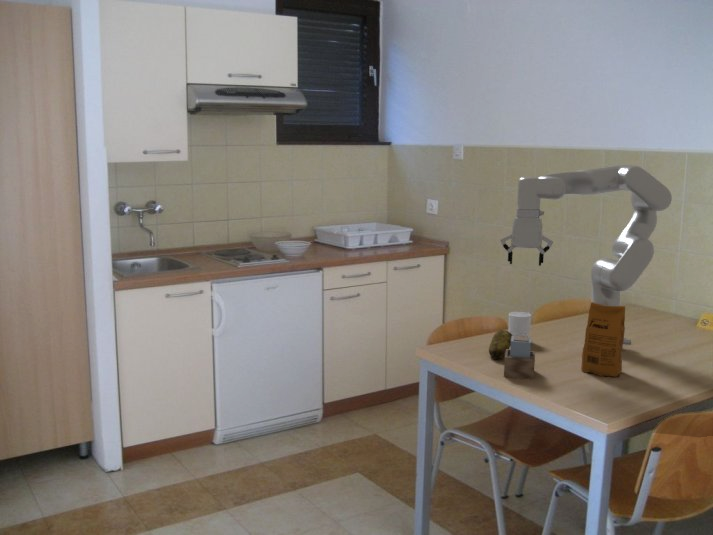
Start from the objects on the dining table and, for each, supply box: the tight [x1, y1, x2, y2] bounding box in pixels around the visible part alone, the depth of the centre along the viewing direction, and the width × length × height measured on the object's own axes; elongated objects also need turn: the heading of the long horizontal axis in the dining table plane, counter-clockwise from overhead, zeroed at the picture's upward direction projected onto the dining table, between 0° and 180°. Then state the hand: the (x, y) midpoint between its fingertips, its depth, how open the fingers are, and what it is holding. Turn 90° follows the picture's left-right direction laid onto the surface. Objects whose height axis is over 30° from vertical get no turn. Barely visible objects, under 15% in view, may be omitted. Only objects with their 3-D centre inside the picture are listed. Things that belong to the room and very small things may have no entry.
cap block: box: [509, 336, 532, 359], centre depth 232 cm, size 6×6×6 cm
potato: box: [488, 329, 512, 360], centre depth 251 cm, size 8×13×8 cm, turn 139°
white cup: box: [508, 311, 532, 337], centre depth 269 cm, size 8×8×10 cm
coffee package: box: [580, 301, 626, 378], centre depth 234 cm, size 10×12×22 cm
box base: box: [503, 348, 536, 380], centre depth 232 cm, size 9×9×6 cm
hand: (525, 264), depth 253 cm, fingers open, 9 cm apart
